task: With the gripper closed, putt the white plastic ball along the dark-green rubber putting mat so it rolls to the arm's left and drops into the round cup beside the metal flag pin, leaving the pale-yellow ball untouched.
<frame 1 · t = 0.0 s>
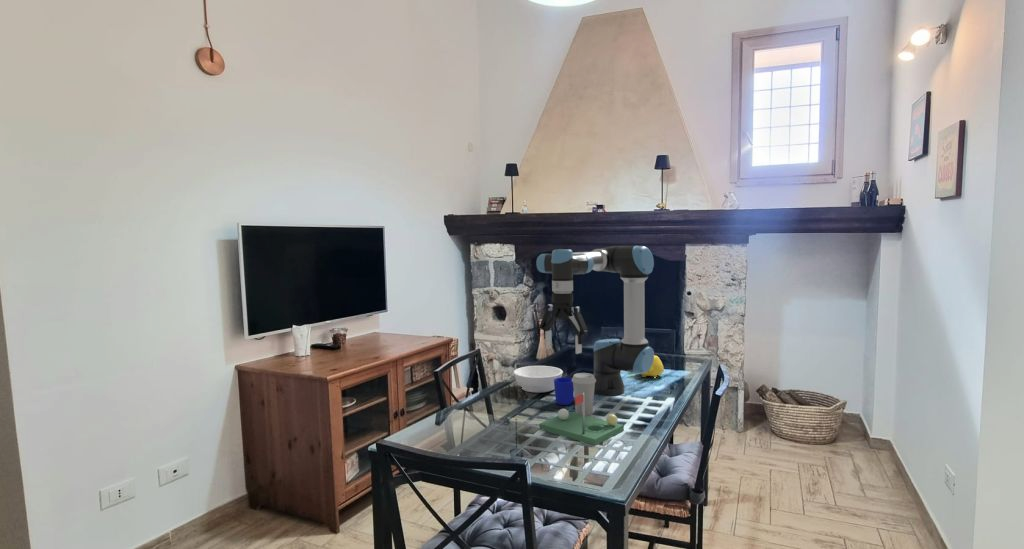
hand: (563, 350, 197), 28 cm above the table, fingers open, 13 cm apart
mug: (568, 404, 226), on the table
yellow ball: (611, 419, 193), point 4 cm above the table, touching putting mat
flag pin: (583, 439, 186), resting on putting mat
putting mat: (581, 429, 195), on the table
teapot: (648, 376, 269), on the table
coffee cup: (584, 413, 214), on the table
bowl: (538, 389, 249), on the table
white ball: (563, 414, 200), point 4 cm above the table, touching putting mat
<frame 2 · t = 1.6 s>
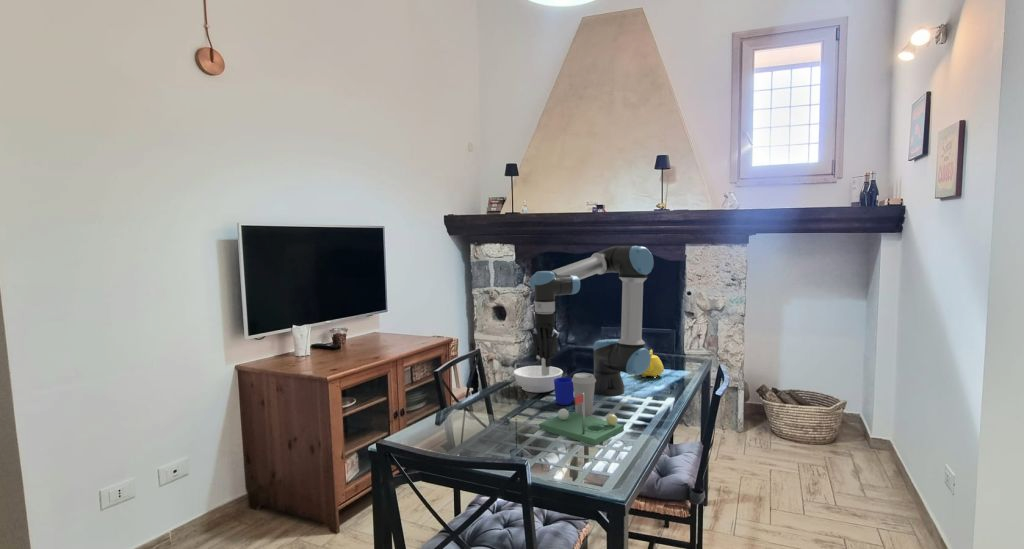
hand: (545, 374, 205), 17 cm above the table, fingers closed
nothing on the table moved.
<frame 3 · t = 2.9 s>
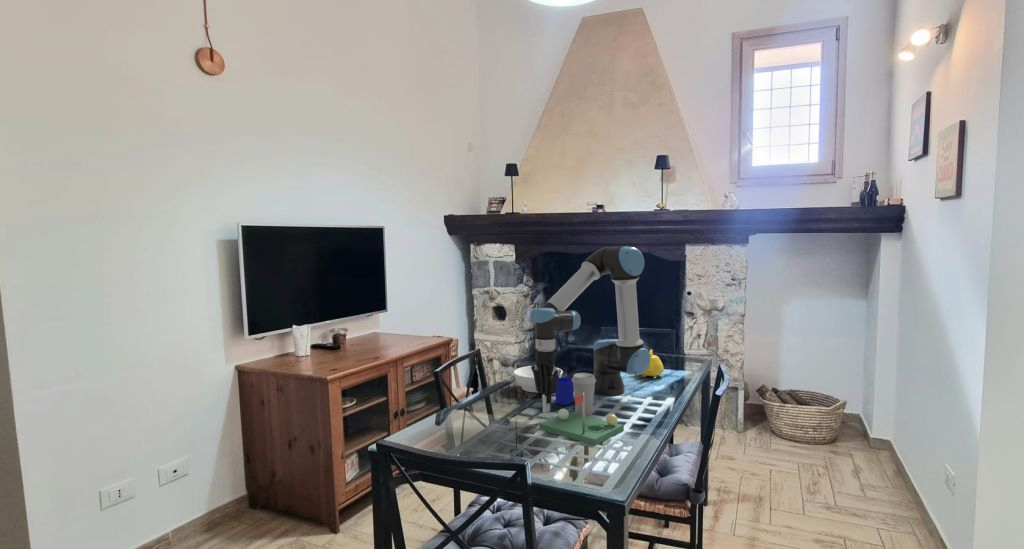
hand: (546, 411, 206), 3 cm above the table, fingers closed
nothing on the table moved.
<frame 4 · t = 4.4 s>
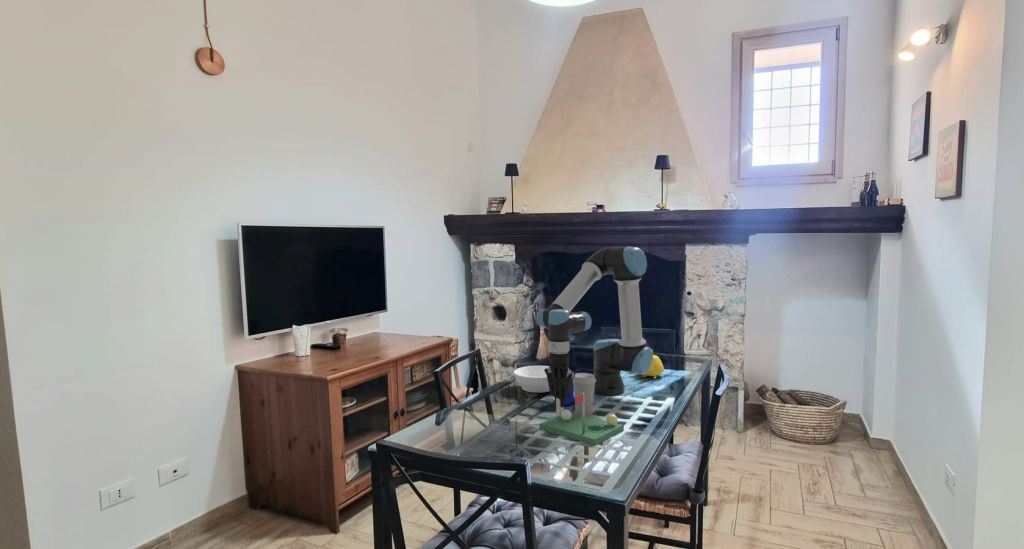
hand: (560, 415, 201), 3 cm above the table, fingers closed
white ball: (566, 415, 199), point 4 cm above the table, tilted 38°, touching putting mat
everything else where it was.
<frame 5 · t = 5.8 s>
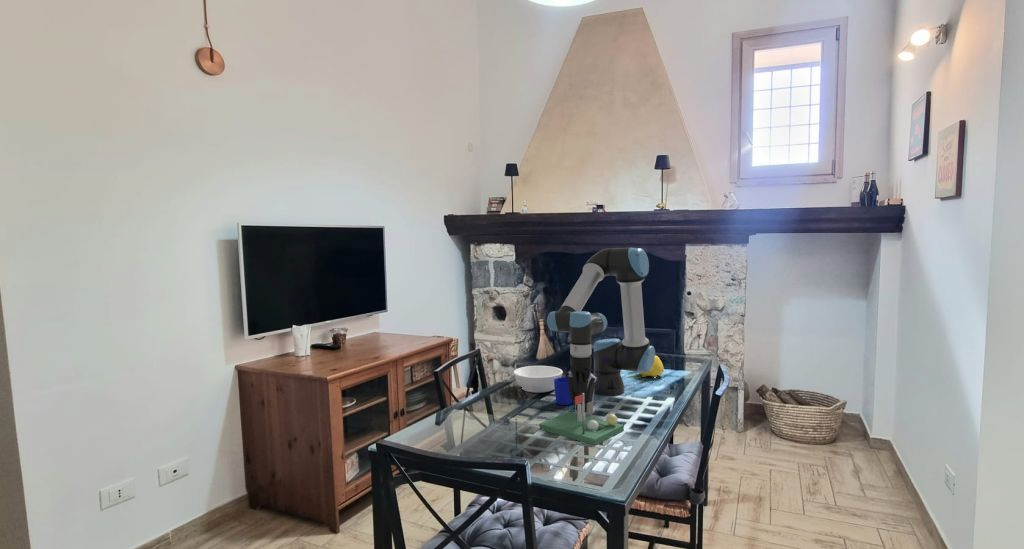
hand: (581, 420, 195), 3 cm above the table, fingers closed
white ball: (592, 425, 191), point 3 cm above the table, tilted 34°
everything else where it was.
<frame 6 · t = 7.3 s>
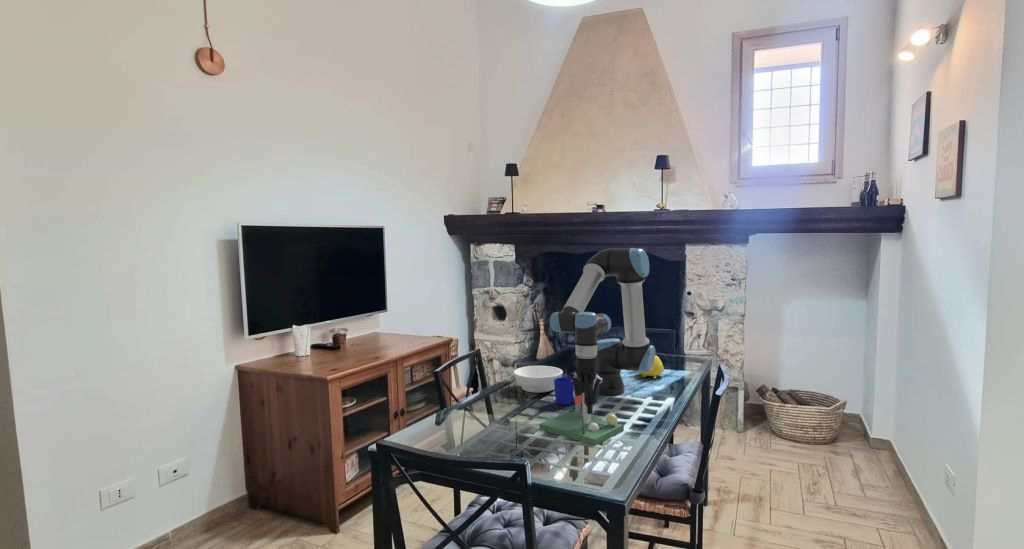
hand: (586, 422, 193), 3 cm above the table, fingers closed
white ball: (593, 428, 191), point 2 cm above the table, tilted 57°
everything else where it was.
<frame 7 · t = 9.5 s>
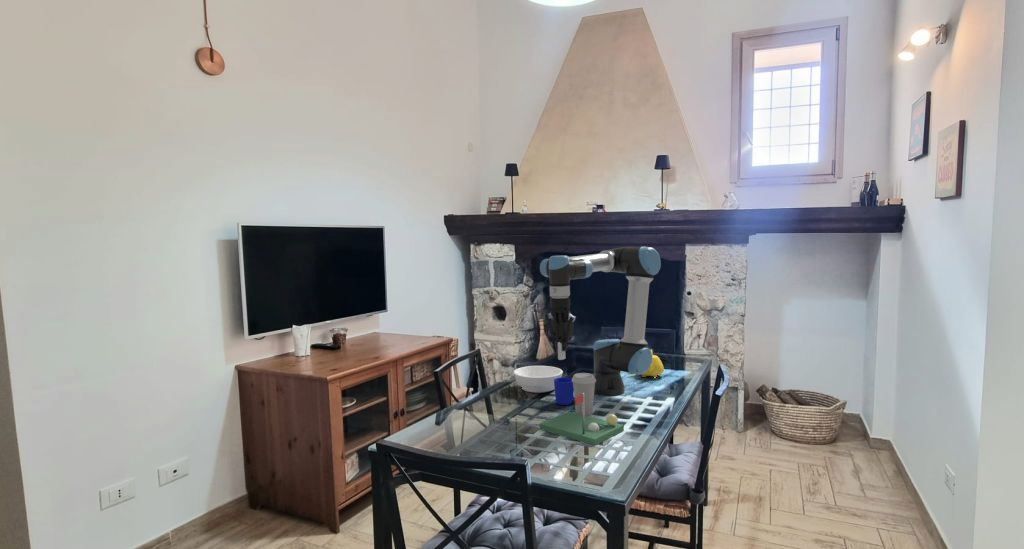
hand: (561, 359, 205), 23 cm above the table, fingers closed
nothing on the table moved.
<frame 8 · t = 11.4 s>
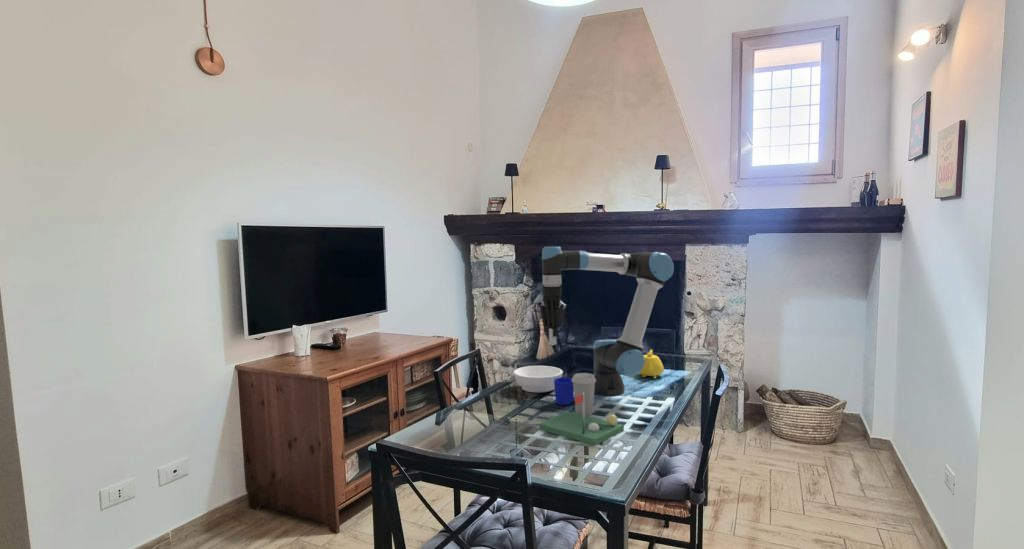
hand: (552, 344, 217), 26 cm above the table, fingers closed
nothing on the table moved.
at the end: white ball 0.7 cm from the target spot on the putting mat, point 2.0 cm above the putting mat's base; yellow ball moved 0.1 cm from its start; the gripper is holding nothing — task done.
